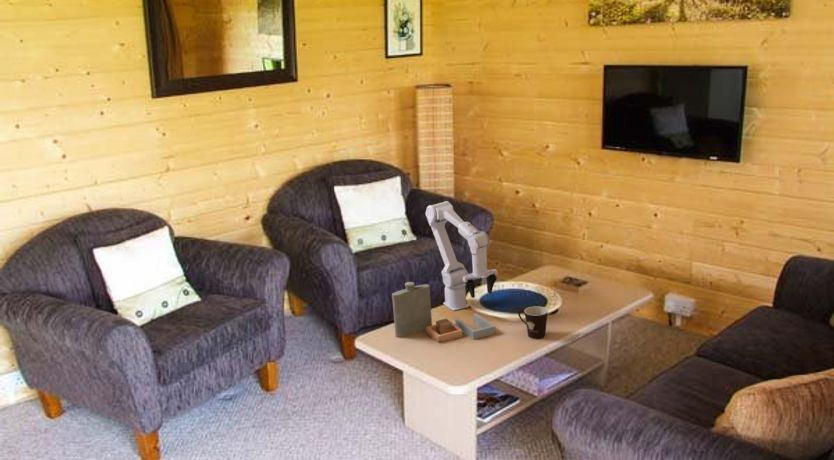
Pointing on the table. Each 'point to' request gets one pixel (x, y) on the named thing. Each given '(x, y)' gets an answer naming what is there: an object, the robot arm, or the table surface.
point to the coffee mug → (535, 321)
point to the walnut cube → (443, 326)
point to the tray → (444, 337)
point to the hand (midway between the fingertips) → (481, 295)
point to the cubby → (474, 334)
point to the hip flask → (411, 309)
